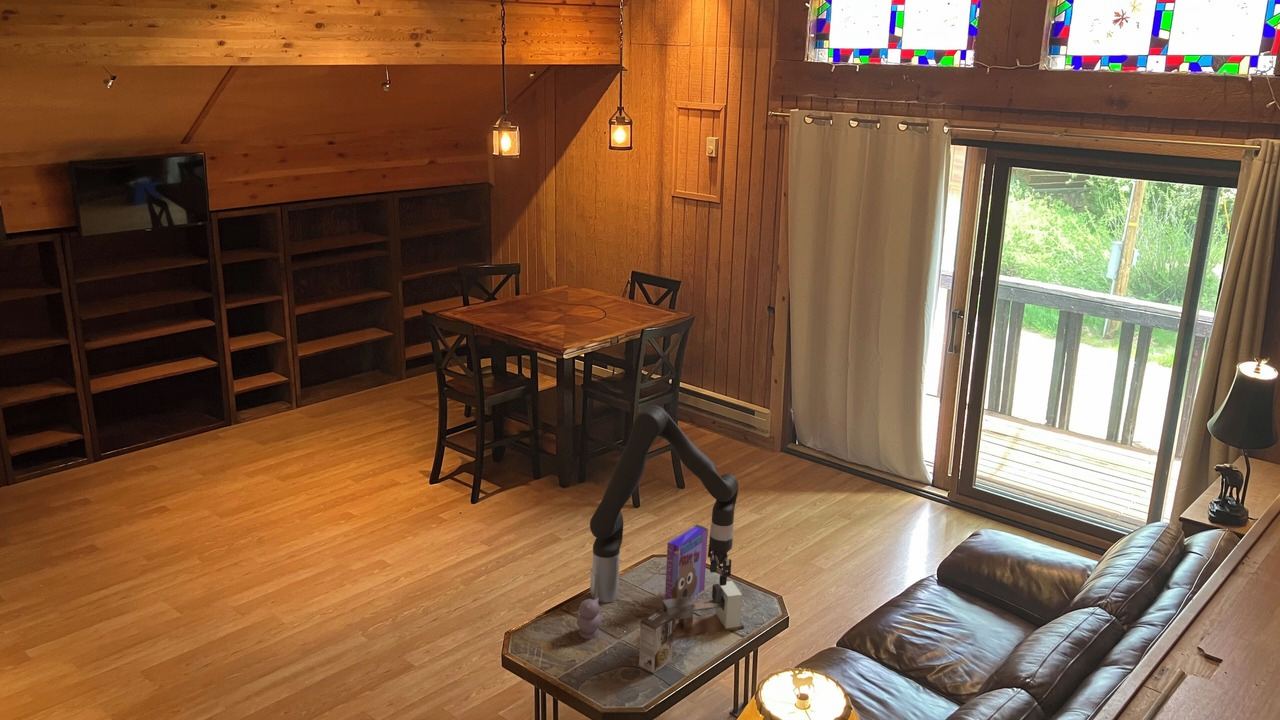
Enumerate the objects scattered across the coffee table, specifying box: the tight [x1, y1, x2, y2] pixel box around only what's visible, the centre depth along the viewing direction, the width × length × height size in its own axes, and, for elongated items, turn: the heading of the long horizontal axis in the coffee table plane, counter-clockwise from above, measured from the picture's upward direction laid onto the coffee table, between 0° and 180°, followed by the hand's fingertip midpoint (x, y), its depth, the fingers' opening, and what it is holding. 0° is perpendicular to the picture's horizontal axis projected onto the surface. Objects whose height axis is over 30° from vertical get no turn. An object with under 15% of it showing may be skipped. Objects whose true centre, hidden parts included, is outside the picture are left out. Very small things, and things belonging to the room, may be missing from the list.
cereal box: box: [664, 524, 709, 600], centre depth 345 cm, size 17×5×24 cm, turn 143°
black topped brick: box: [692, 583, 725, 612], centre depth 329 cm, size 16×3×8 cm, turn 107°
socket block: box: [715, 580, 743, 628], centre depth 332 cm, size 5×9×12 cm, turn 17°
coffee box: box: [638, 608, 674, 674], centre depth 308 cm, size 9×6×16 cm
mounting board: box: [661, 597, 745, 639], centre depth 330 cm, size 27×9×10 cm, turn 107°
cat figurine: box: [576, 598, 603, 640], centre depth 323 cm, size 8×8×12 cm
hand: (717, 578), depth 328 cm, fingers open, 8 cm apart
